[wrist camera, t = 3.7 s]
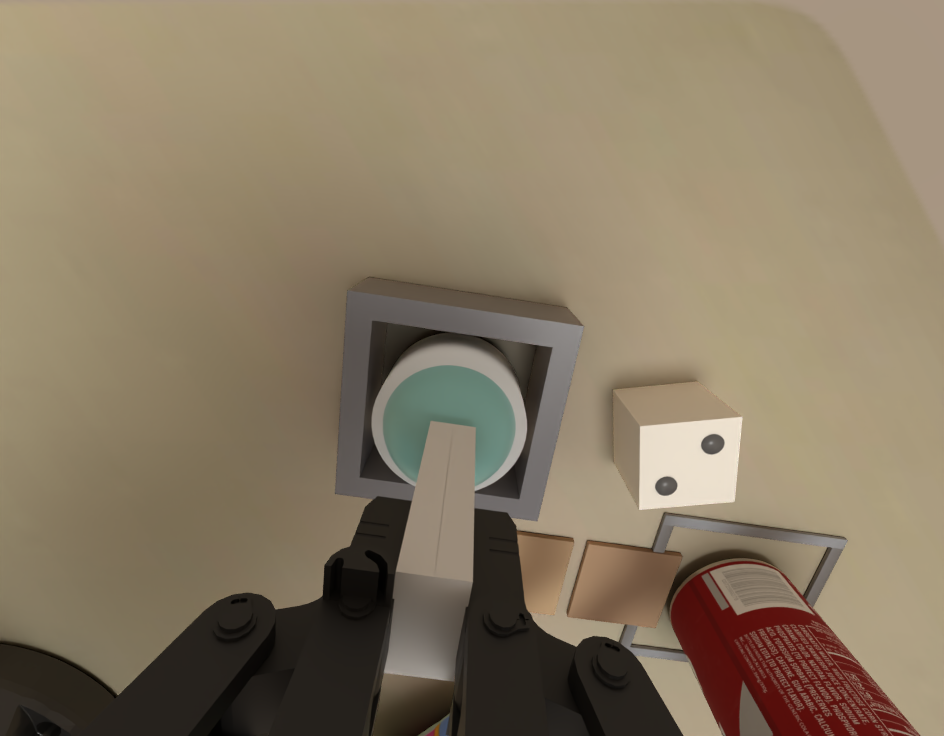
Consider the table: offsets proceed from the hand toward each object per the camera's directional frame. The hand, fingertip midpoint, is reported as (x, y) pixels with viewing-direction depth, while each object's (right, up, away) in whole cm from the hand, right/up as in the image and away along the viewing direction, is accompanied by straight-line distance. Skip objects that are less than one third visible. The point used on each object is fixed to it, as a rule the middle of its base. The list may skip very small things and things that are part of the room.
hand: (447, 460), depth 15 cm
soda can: (+15, -10, +11) cm, 21 cm away
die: (+10, 0, +7) cm, 12 cm away
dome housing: (0, +2, +7) cm, 7 cm away
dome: (0, +2, +5) cm, 5 cm away
